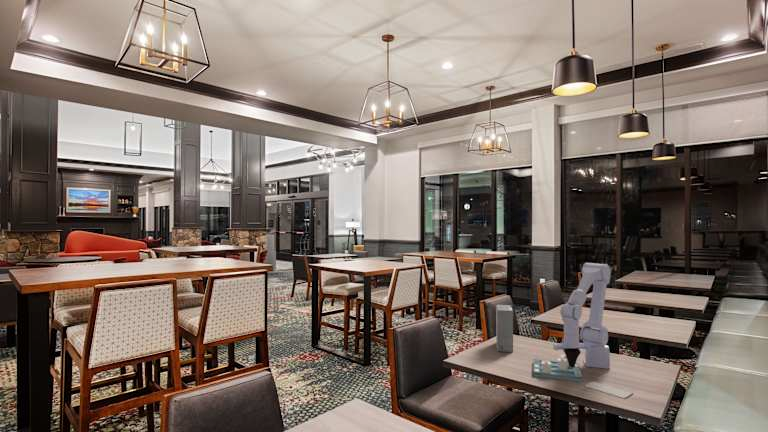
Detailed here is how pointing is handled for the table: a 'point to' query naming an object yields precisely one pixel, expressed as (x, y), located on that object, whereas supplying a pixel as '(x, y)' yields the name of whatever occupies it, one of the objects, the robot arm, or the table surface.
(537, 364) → the switch board
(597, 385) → the smartphone
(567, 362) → the tab
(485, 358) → the table surface
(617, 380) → the table surface
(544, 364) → the tab
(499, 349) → the hard drive box
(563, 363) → the tab
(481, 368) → the table surface
